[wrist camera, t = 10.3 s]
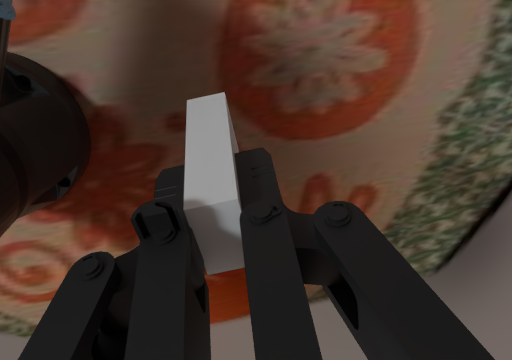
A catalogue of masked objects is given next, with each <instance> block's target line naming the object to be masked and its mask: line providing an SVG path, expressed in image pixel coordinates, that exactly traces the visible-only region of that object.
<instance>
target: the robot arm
mask: <svg viewBox="0 0 512 360" xmlns="http://www.w3.org/2000/svg"><path fill="white" fill-rule="evenodd" d="M15 15H16V13H15V9H14V7H13V6H12V0H0V237H1V236H2V235H3V234H4V232H5V231H6V230H7V229H8V228H9V227H10V226H11V225H12V224H13V222H14V221H15V220H16V219H18V218H20V217H23V216H25V215H27V214H30V213H32V212H34V211H37V210H39V209H41V208H44V207H46V206H48V205H50V204H52V203H54V202H56V201H58V200H59V199H60V198H62V197H63V196H64V195H65V194H67V193H68V192H69V190H70V189H71V188H72V187H73V186H74V185H75V183H76V182H77V181H78V180H79V178H80V177H81V176H82V174H83V172H84V170H85V168H86V166H87V163H88V160H89V155H90V135H89V130H88V126H87V122H86V120H85V117H84V114H83V112H82V110H81V108H80V107H79V105H78V103H77V101H76V100H75V98H74V97H73V96H72V94H71V93H70V92H69V91H68V89H67V88H66V87H65V86H64V85H63V84H62V83H61V82H60V81H59V80H58V79H57V78H56V77H55V76H53V75H52V74H51V73H50V72H48V71H47V70H46V69H44V68H43V67H41V66H40V65H38V64H36V63H34V62H33V61H30V60H28V59H26V58H24V57H21V56H19V55H16V54H13V53H9V52H7V47H8V39H9V32H10V25H11V20H15ZM130 220H131V222H132V224H133V226H134V228H135V230H136V232H137V235H138V237H139V239H140V245H139V246H138V247H136V248H135V249H133V250H131V251H130V252H128V253H125V254H123V255H121V256H119V257H117V258H115V259H114V257H113V256H112V255H111V254H109V253H108V252H101V251H100V252H94V253H91V254H88V255H86V256H84V257H82V258H81V259H80V260H78V261H77V262H76V263H75V264H74V265H73V266H72V267H71V269H70V270H69V271H68V273H67V275H66V277H65V278H64V280H63V282H62V284H61V285H60V287H59V289H58V291H57V292H56V294H55V296H54V298H53V299H52V301H51V303H50V304H49V306H48V308H47V310H46V311H45V313H44V315H43V317H42V318H41V320H40V322H39V324H38V325H37V327H36V329H35V331H34V332H33V334H32V336H31V338H30V339H29V341H28V343H27V345H26V346H25V348H24V350H23V352H22V353H21V355H20V357H19V359H18V360H211V346H210V316H209V289H208V286H207V283H206V280H205V278H204V266H205V269H206V272H207V274H208V275H211V274H216V273H221V272H225V271H230V270H235V269H240V268H245V272H246V281H247V290H248V298H249V307H250V315H251V324H252V332H253V340H254V350H255V358H256V360H322V356H321V352H320V348H319V344H318V340H317V336H316V332H315V328H314V323H313V319H312V316H311V312H310V307H309V303H308V299H307V295H306V291H305V287H304V284H314V285H322V286H323V289H324V290H325V292H326V294H327V295H328V297H329V298H330V300H331V301H332V303H333V304H334V306H335V308H336V309H337V311H338V313H339V314H340V316H341V317H342V319H343V320H344V322H345V324H346V325H347V327H348V328H349V330H350V332H351V333H352V335H353V336H354V338H355V340H356V341H357V343H358V344H359V346H360V347H361V349H362V350H363V352H364V354H365V355H366V357H367V359H368V360H495V359H494V358H493V357H492V356H491V355H490V353H489V352H488V351H487V350H486V349H485V348H484V347H483V346H482V345H481V343H479V341H478V340H477V339H476V338H475V337H474V336H473V335H472V333H471V332H470V331H469V330H468V329H467V328H466V327H465V326H464V324H463V323H462V322H461V321H460V320H459V319H458V318H457V317H456V316H455V315H454V313H453V312H452V311H451V310H450V309H449V308H448V307H447V306H446V304H445V303H444V302H443V301H442V300H441V299H440V298H439V297H438V296H437V294H436V293H435V292H434V291H433V290H432V289H431V288H430V287H429V285H428V284H427V283H426V282H425V281H424V280H423V279H422V278H421V277H420V275H419V274H418V273H417V272H416V271H415V270H414V269H413V268H412V267H411V265H410V264H409V263H408V262H407V261H406V260H405V259H404V258H403V256H402V255H401V254H400V253H399V252H398V251H397V250H396V249H395V248H394V246H393V245H392V244H391V243H390V242H389V241H388V240H387V239H386V238H385V236H384V235H383V234H382V233H381V232H380V231H379V230H378V229H377V228H376V226H375V225H374V224H373V223H372V222H371V221H370V220H369V219H368V217H367V216H366V215H365V214H364V213H363V212H362V211H361V210H360V209H359V208H358V207H357V206H355V205H354V204H352V203H348V202H345V201H334V202H329V203H326V204H324V205H322V206H321V207H319V208H318V209H317V211H316V212H315V213H314V214H301V213H296V212H293V211H291V210H290V209H288V208H287V207H286V206H285V205H284V204H283V202H282V199H281V195H280V191H279V187H278V183H277V179H276V175H275V171H274V167H273V163H272V159H271V155H270V154H269V153H268V152H267V151H266V150H265V149H264V148H258V149H253V150H248V151H244V152H239V150H238V145H237V141H236V137H235V133H234V129H233V125H232V121H231V116H230V112H229V108H228V104H227V100H226V96H225V92H223V93H218V94H213V95H209V96H204V97H199V98H194V99H190V100H187V116H186V147H185V165H182V166H177V167H172V168H168V169H163V170H162V172H161V173H160V175H159V176H158V178H157V179H156V184H155V192H154V200H152V201H150V202H147V203H145V204H143V205H142V206H140V207H139V208H138V209H137V210H136V211H135V212H134V213H133V215H132V217H131V219H130Z"/></svg>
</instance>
